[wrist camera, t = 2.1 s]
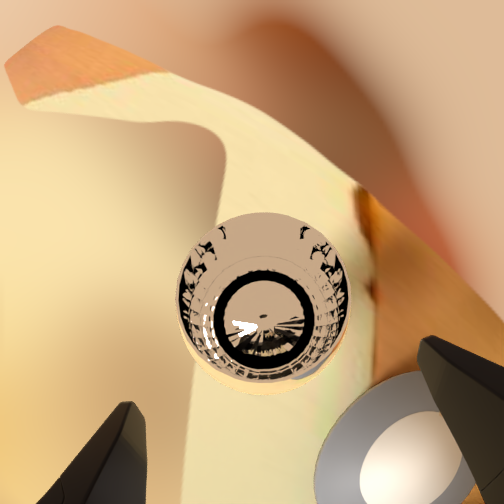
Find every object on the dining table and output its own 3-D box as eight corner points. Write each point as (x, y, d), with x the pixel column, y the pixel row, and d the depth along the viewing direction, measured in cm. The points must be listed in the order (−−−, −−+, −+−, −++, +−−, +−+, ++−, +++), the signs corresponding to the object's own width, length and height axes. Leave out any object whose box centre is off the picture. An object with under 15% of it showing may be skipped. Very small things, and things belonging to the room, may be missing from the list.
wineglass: (320, 307, 20) (385, 224, 9) (295, 393, 18) (340, 427, 7) (234, 283, 21) (199, 177, 9) (207, 367, 19) (127, 360, 7)
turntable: (420, 551, 11) (424, 555, 10) (272, 508, 14) (273, 514, 13) (506, 405, 15) (513, 405, 14) (381, 337, 18) (386, 335, 17)
